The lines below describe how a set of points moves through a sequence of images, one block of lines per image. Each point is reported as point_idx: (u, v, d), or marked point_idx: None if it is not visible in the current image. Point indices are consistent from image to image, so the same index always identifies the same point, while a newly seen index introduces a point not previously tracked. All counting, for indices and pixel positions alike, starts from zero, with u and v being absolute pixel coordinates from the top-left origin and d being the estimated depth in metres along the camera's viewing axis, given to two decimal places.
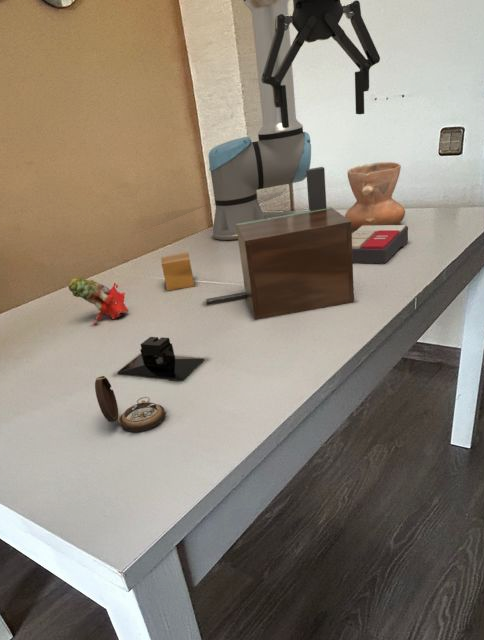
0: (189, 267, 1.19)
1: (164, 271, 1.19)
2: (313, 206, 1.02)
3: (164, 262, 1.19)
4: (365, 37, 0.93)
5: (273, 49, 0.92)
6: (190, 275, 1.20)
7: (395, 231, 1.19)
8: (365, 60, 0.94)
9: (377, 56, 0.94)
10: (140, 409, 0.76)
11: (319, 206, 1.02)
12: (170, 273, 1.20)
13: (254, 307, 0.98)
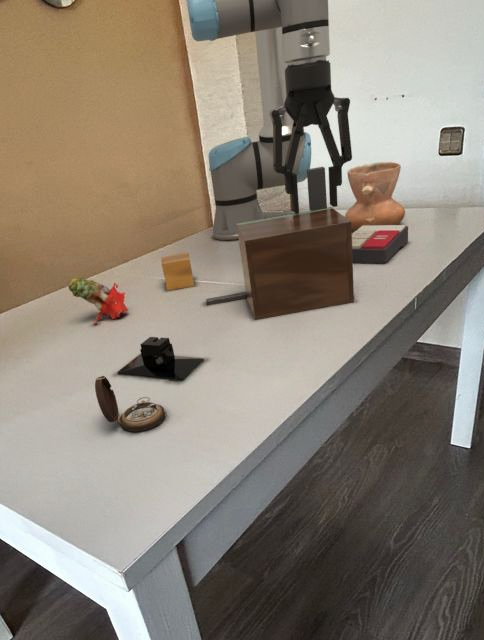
0: (189, 267, 1.19)
1: (164, 271, 1.19)
2: (314, 206, 1.02)
3: (164, 262, 1.19)
4: (345, 133, 0.96)
5: (276, 142, 0.96)
6: (190, 275, 1.20)
7: (395, 231, 1.19)
8: (339, 158, 0.98)
9: (350, 155, 0.98)
10: (140, 409, 0.76)
11: (319, 206, 1.02)
12: (170, 273, 1.20)
13: (254, 307, 0.98)
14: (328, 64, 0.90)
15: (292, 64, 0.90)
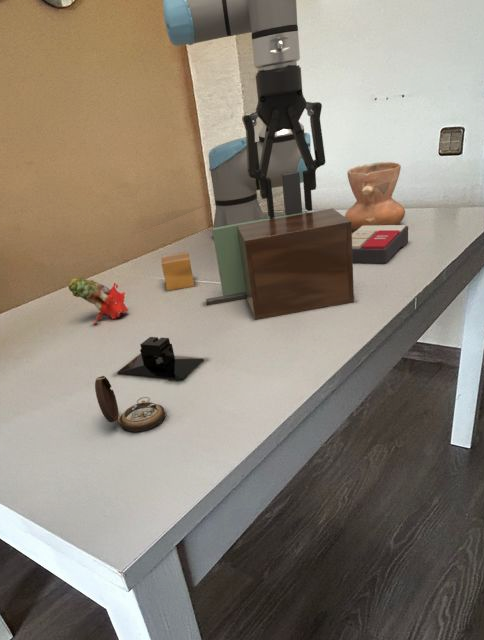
0: (189, 267, 1.19)
1: (164, 271, 1.19)
2: (289, 210, 1.02)
3: (164, 262, 1.19)
4: (317, 138, 0.96)
5: (249, 147, 0.96)
6: (190, 275, 1.20)
7: (395, 231, 1.19)
8: (312, 162, 0.98)
9: (323, 159, 0.98)
10: (140, 409, 0.76)
11: (295, 210, 1.02)
12: (170, 273, 1.20)
13: (254, 307, 0.98)
14: (298, 69, 0.90)
15: (262, 69, 0.90)
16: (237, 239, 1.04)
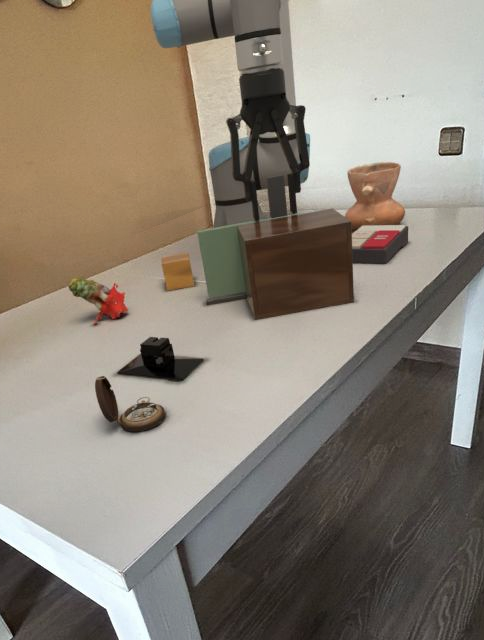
0: (189, 267, 1.19)
1: (164, 271, 1.19)
2: (274, 213, 1.02)
3: (164, 262, 1.19)
4: (301, 141, 0.96)
5: (233, 150, 0.96)
6: (190, 275, 1.20)
7: (395, 231, 1.19)
8: (297, 165, 0.98)
9: (307, 162, 0.98)
10: (140, 409, 0.76)
11: (279, 213, 1.02)
12: (170, 273, 1.20)
13: (254, 307, 0.98)
14: (281, 72, 0.90)
15: (245, 72, 0.90)
16: (222, 242, 1.04)
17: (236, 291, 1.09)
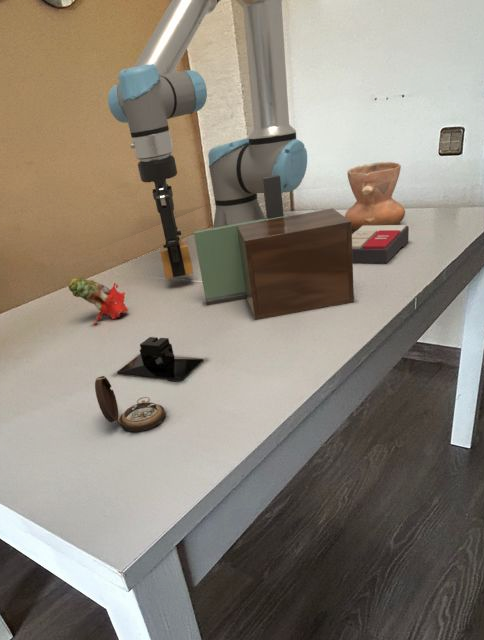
0: (188, 254, 1.18)
1: (163, 259, 1.18)
2: (270, 214, 1.02)
3: (163, 250, 1.18)
4: (162, 223, 1.12)
5: None
6: (189, 263, 1.19)
7: (396, 231, 1.19)
8: None
9: (165, 242, 1.13)
10: (140, 409, 0.76)
11: (276, 213, 1.02)
12: (169, 260, 1.18)
13: (254, 307, 0.98)
14: (144, 166, 1.08)
15: None
16: (218, 242, 1.04)
17: (233, 292, 1.09)
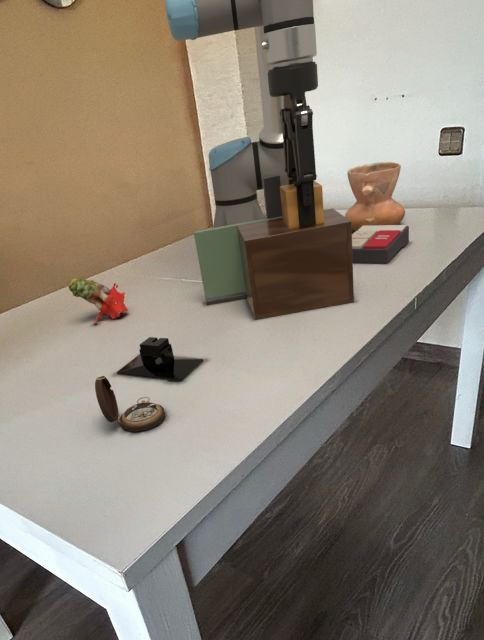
0: (321, 197, 0.91)
1: (288, 202, 0.91)
2: (270, 214, 1.02)
3: (289, 190, 0.91)
4: (297, 151, 0.85)
5: (283, 142, 0.95)
6: (321, 208, 0.92)
7: (396, 231, 1.19)
8: (297, 176, 0.88)
9: (300, 177, 0.86)
10: (140, 409, 0.76)
11: (276, 213, 1.02)
12: (296, 205, 0.92)
13: (254, 307, 0.98)
14: (281, 72, 0.82)
15: None
16: (218, 242, 1.04)
17: (233, 292, 1.09)
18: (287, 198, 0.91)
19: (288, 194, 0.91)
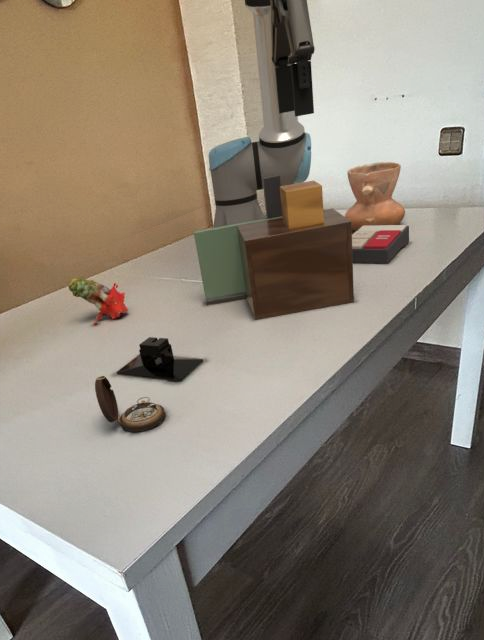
0: (321, 197, 0.91)
1: (288, 202, 0.91)
2: (270, 214, 1.02)
3: (288, 190, 0.91)
4: (290, 22, 0.75)
5: (271, 28, 0.88)
6: (321, 208, 0.92)
7: (397, 231, 1.19)
8: (292, 51, 0.77)
9: (295, 48, 0.75)
10: (140, 409, 0.76)
11: (276, 213, 1.02)
12: (296, 205, 0.92)
13: (254, 307, 0.98)
14: None
15: None
16: (218, 242, 1.04)
17: (233, 292, 1.09)
18: (287, 198, 0.91)
19: (288, 194, 0.91)
